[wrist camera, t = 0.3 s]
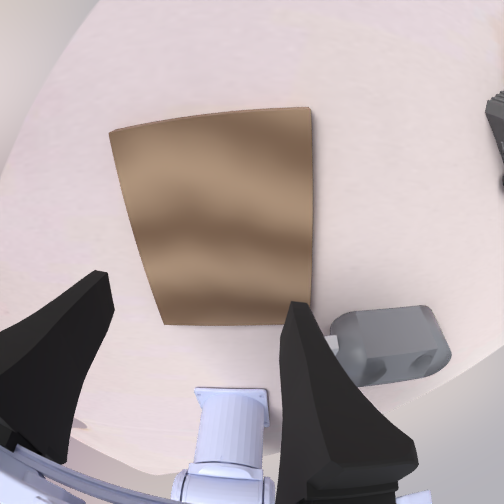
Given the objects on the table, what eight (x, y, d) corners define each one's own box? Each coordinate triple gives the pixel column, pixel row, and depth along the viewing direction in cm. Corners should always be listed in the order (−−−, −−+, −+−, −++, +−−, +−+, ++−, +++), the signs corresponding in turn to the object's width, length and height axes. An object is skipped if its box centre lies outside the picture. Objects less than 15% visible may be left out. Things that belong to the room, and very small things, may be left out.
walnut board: (308, 314, 25) (309, 323, 24) (166, 316, 26) (164, 324, 25) (308, 107, 16) (310, 109, 16) (115, 129, 17) (108, 133, 17)
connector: (426, 333, 26) (441, 373, 22) (297, 345, 27) (300, 391, 23) (437, 303, 24) (458, 344, 20) (298, 314, 25) (302, 363, 21)
